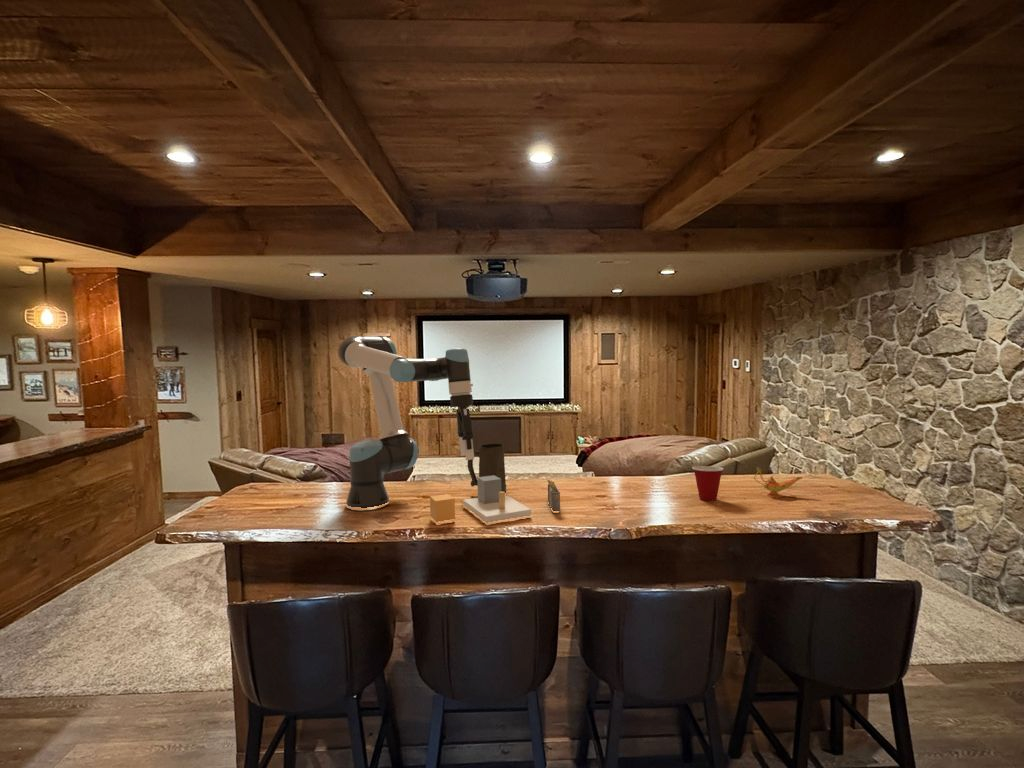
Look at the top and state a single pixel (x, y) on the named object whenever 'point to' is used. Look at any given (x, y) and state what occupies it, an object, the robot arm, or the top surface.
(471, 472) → the beer stein
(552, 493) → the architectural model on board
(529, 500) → the top surface
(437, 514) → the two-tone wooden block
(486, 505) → the assembly base with peg
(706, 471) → the plastic cup
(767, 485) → the magic lamp
